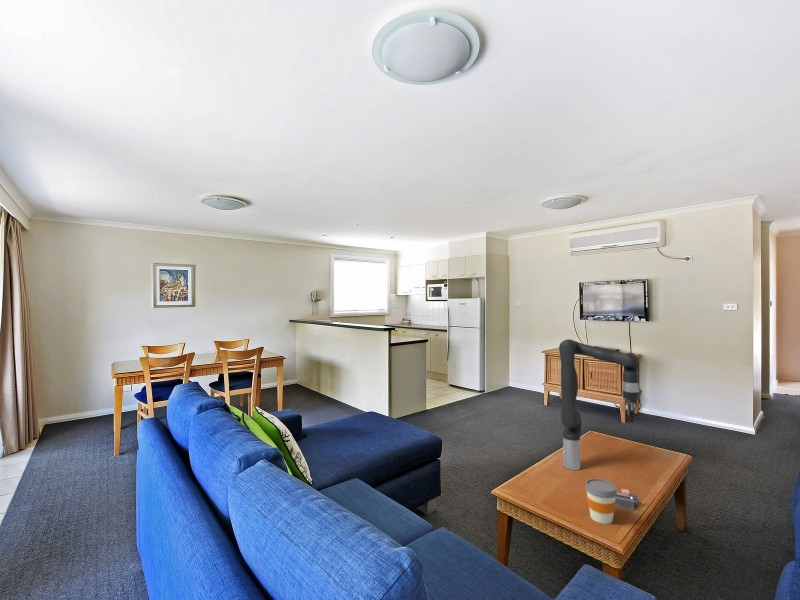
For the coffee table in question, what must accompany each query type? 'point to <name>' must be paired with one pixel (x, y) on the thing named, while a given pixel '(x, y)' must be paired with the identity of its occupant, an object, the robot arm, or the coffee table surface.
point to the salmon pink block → (625, 491)
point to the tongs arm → (629, 497)
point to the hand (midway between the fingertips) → (631, 421)
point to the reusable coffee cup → (601, 500)
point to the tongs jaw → (625, 503)
